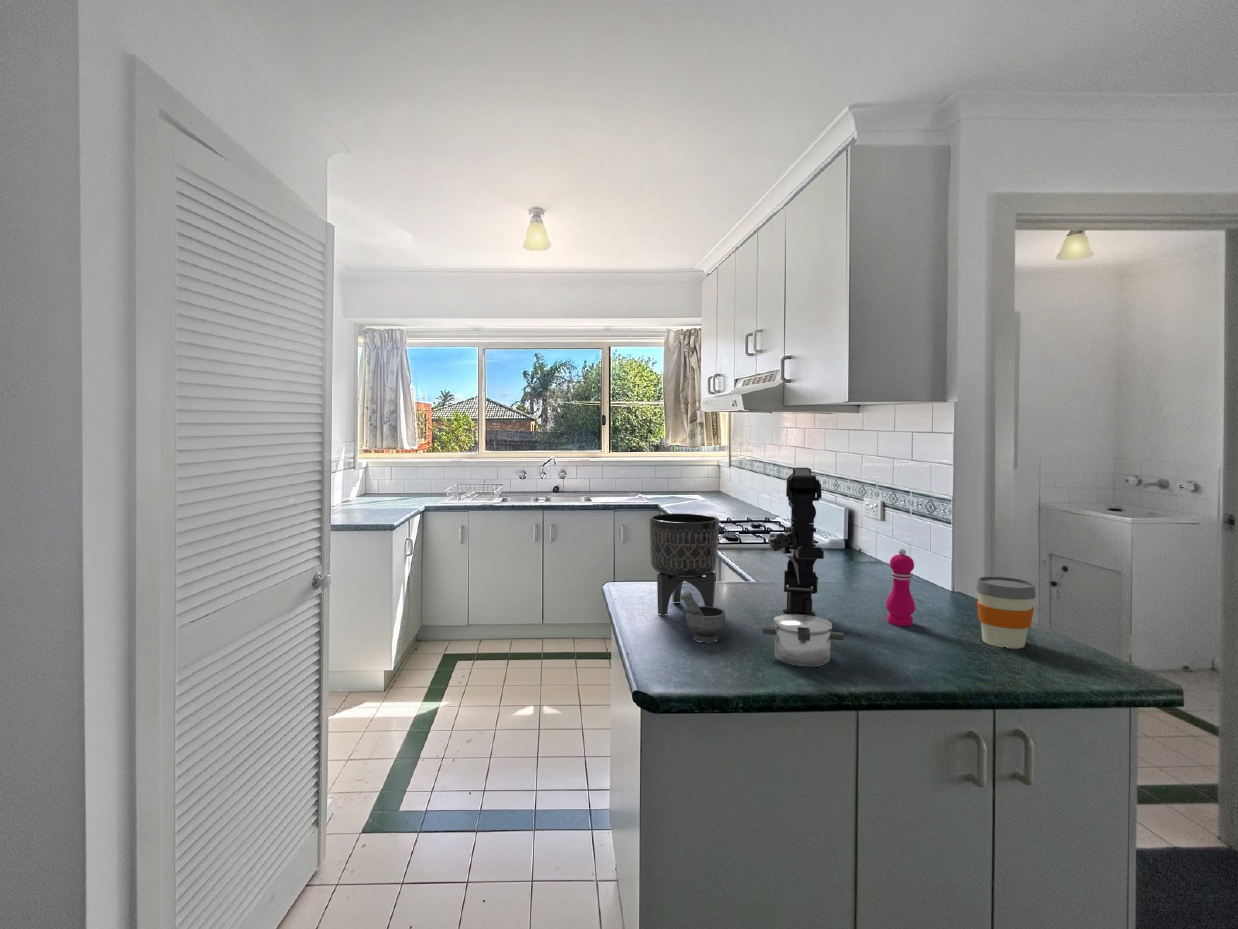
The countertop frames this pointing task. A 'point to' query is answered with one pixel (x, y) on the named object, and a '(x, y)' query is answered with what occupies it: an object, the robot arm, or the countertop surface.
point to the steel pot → (802, 646)
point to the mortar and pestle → (703, 619)
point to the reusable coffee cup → (1005, 610)
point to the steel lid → (803, 625)
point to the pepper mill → (901, 591)
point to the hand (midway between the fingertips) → (801, 584)
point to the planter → (683, 555)
